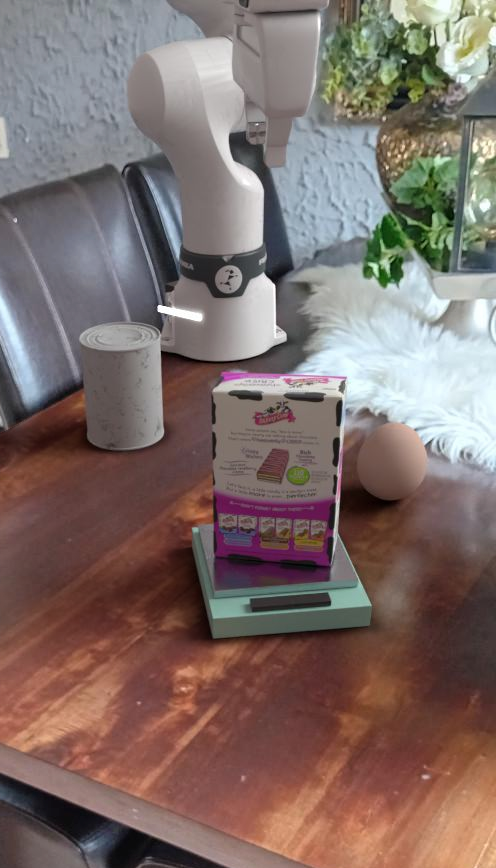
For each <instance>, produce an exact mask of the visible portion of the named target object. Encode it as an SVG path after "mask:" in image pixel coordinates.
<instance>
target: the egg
mask: <svg viewBox="0 0 496 868" xmlns="http://www.w3.org/2000/svg"><path fill="white" fill-rule="evenodd" d="M427 470H428V453H427V449H426V447H425V445H424V441H423V439H422V438H421V437H420V435H419V434H418V433H417V431H416V430H415V429H413V428H412V427H411V426H409V425H408V424H405V423H402V422H397V421H395V422H394V421H393V422H387V423H384V424H381V425H380V426H378V427H376V428H374V430H372V432H370V434H369V435H368V436H367V437H366V439H365V440H364V442H363V444H362V445H361V446H360V448H359V452H358V454H357V461H356V472H357V476H358V479H359V482H360V484H361V485H362V487H363V488H364V489H365V490H366V491H367V492H368V493H369V494H371V496H373V497H375V498H377V499H380V500H383V501H398V500H402V499H403V498H406V497H408V496H409V495H411V494H412V493H414V492H415V491H416V490H417V489H418V487H420V485H421V484H422V482H423V481H424V478H425V476H426V474H427Z"/></svg>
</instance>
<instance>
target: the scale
mask: <svg viewBox="0 0 496 868" xmlns="http://www.w3.org/2000/svg"><path fill="white" fill-rule="evenodd" d="M338 537H339V539H340V541H341V543H342V545H343V548H344V550H345V552H346V554H347V556H348V558H349V560H350V563H351V565H352V567H353V569H354V571H355V573H356V576H357V578H358V587H347V588H335V589H322V590H310V591H298V592H285V593H273V594H260V595H248V596H236V597H223V598H214V596H213V592H212V588H211V584H210V580H209V576H208V571H207V567H206V563H205V559H204V555H203V551H202V546H201V542H200V538H199V534H198V526H194V527H191V546H192V553H193V557H194V561H195V566H196V570H197V574H198V579H199V583H200V588H201V591H202V598H203V600H204V605H205V609H206V614H207V618H208V622H209V627H210V632H211V637H212V639H214V640H215V639H225V638H238V637H250V636H251V637H252V636H262V635H275V634H286V633H287V634H288V633H300V632H311V631H323V630H324V631H325V630H335V629H348V628H361V627H370V625H371V616H372V608H373V606H372V604H371V601H370V598H369V596H368V594H367V593H366V592H367V591H366V590H365V588H364V586H363V583H362V582H361V580H360V578H359V575H358V573H357V572H356V569H355V567H354V565H353V562H352V560H351V557H350V556H349V554H348V552H347V549H346V547H345V545H344V542H343V541H342V539H341V537H340V534H339V533H338Z"/></svg>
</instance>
